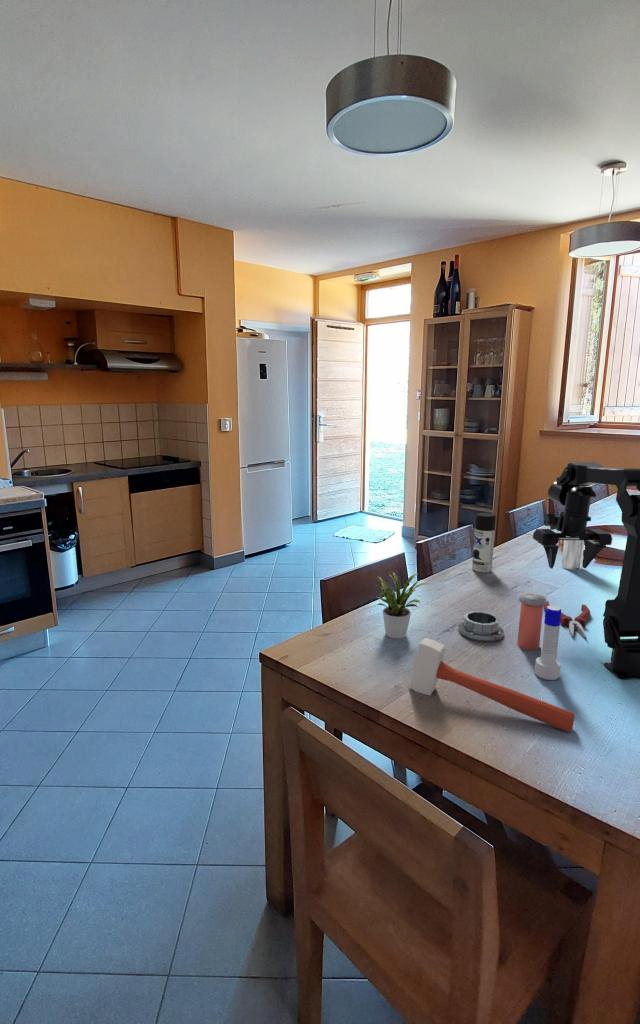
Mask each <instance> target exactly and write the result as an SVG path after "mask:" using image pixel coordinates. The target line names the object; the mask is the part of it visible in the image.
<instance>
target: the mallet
mask: <svg viewBox="0 0 640 1024" xmlns="http://www.w3.org/2000/svg"><path fill="white" fill-rule="evenodd" d="M418 646H419V647H418V649H417V652H416V656H415V658H414V661H413V665H412V674H411V677H410V681H409V683H408V688H409V689H410V690H413V691H415V692H417V693H420V694H423V695H427V696H432V694H433V692H434V691H435V690H436V688H437V685H438V683H439V679H440V680H442V681H443V680H444V681H448V682H451V683H454V684H456V685H459V686H461V687H463V688H466V689H468V690H471V691H472V692H474V693H476V694H478V695H481V696H483V697H485V698H487V699H489V700H492V701H494V702H496V703H498V704H500V705H502V706H504V707H507V708H509V709H512V710H514V711H515V712H518V713H520V714H522V715H524V716H528V717H530V718H532V719H534V720H537V721H540V722H542V723H545V724H546V725H549V726H551V727H554V728H557V729H558V730H562V731H564V732H566V733H571V731H572V730H573V726H574V722H575V719H576V718H575V716H576V714H575V713H574V712H572V711H569V710H566V709H565V708H562V707H559V706H556V705H554V704H552V703H548V702H546V701H543V700H541V699H538V698H535V697H533V696H530V695H527V694H524V693H521V692H519V691H516V690H515V689H511V688H509V687H505V686H503V685H499V684H498V683H494V682H491V681H488V680H486V679H485V680H484V679H482V678H479V677H476V676H473V675H471V674H468V673H465V672H463V671H460V670H458V669H456V668H454V667H452V666H450V665H449V664H447V663H445V662H444V657H445V656H444V655H445V650H446V646H445V644H443V643H441V642H438V641H436V640H434V639H431V638H428V637H424V638H423V639H422V640H421V641H420V643H419V645H418Z"/></svg>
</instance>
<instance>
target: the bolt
mask: <svg viewBox="0 0 640 1024" xmlns="http://www.w3.org/2000/svg"><path fill="white" fill-rule="evenodd" d="M561 612H562V609H561V608H560V607H559V606H557V605H550V606H547V607H546V609H545V611H544V622H543V630H542V640H541V642H542V643H541V651H540V656H538V657H536V658H535V663H534V665H535V666H534V674H535V675H536V676H537V677H539V678H540V679H542V680H545V681H546V680H547V681H556V680H558V679H559V678H560V675H561V661H559V660H558V659H557V658H558V657H557V656H558V647H559V636H560V627H561V625H560V623H561V622H560V619H561Z"/></svg>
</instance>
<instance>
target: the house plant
mask: <svg viewBox="0 0 640 1024" xmlns="http://www.w3.org/2000/svg"><path fill="white" fill-rule="evenodd" d="M392 574H393V576H392ZM392 574H390V573H388V575H389V576H390V577H391V578H392V580H393V583H394V586H395V590H391V588H390V586H389V584H388V583H387V582H386V580H384V579H383V578H382V577H381V576H379V575H377V578H378V579H379V580H380V584H381V586H379V585H377V584H376V586H377V587H380V589H381V591H382V592H381V593H379V595H383V596H384V598H383V597H380V596H376V598H377V599H379V600H381V601H382V602H383V603H382V602H380V603H377V604H376V606H383V607H385V608H383V609H382V615H383V623H384V631H385V635H386V636H387V637H389V638H391V639H395V640H397V639H403V638H405V637H406V636H407V633H408V629H409V623H410V618H411V613H412V611H411V610H410V609H408V607H416V608H418V609H419V607H418V605H417V604H415V603H419V604H421V601H420V600H418V599H412V600H410V601H408V599H410V597H411V595H412V594H413V593H414V592H416V589H417V588H419V587H420V586H424V585H429V583H426V582H425V583H424V582H423V583H420V582H421V581H419V580H418V581H416V582H413V584H412V585H411V586H410V587H409V585H410V584H411V583H412V581H413V579H414V578H415V576H417V575H418V574H419V573H415V574H412V575H410V577H409V578H407V580H406V581H405V583H404V584H403V586H402V587H403V588H402V590H401V583H400V579H399V577H398V575H397V574H396V573H395V572H394V571H392ZM418 583H420V584H418ZM408 587H409V588H408ZM407 601H408V603H407ZM384 603H386V604H387V605H386V604H384Z"/></svg>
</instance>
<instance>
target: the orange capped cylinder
mask: <svg viewBox="0 0 640 1024" xmlns="http://www.w3.org/2000/svg"><path fill="white" fill-rule="evenodd" d="M518 597H519V598H518V601H519V602H520V610H519V622H518V630H517V631H518V633H517V643H516V645H517V646H518V647H519V648H521V649H524V650H526V651H527V650H528V651H536V650H539V649H540V645H541V644H540V643H541V635H542V634H541V632H542V623H543V622H542V621H543V612H544V608H543V605H545V604H546V601H547V597H546V596H544V595H542V594H538V593H535V592H523V593H520V594H519V596H518Z"/></svg>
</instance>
